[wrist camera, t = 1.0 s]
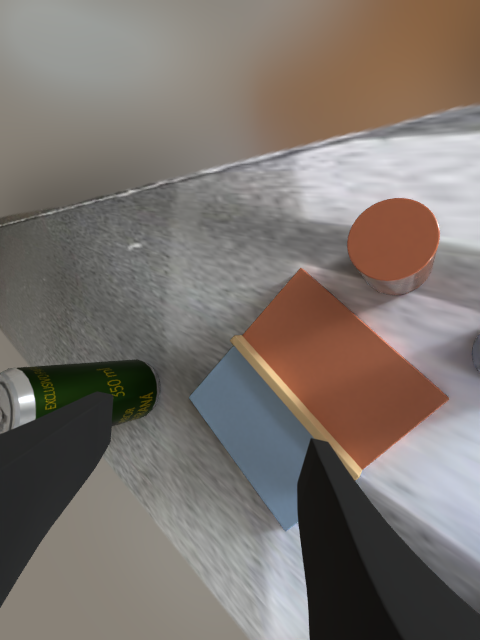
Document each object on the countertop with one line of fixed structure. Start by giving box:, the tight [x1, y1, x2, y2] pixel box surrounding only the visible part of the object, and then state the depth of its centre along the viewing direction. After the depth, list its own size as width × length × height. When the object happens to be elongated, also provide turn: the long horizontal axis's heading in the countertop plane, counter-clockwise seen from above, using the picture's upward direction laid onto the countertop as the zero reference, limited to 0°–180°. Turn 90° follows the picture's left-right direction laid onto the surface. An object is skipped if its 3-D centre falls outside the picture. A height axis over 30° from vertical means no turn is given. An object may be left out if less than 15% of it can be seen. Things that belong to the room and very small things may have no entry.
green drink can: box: [0, 360, 160, 434], centre depth 24 cm, size 5×5×12 cm
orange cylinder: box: [347, 198, 440, 295], centre depth 17 cm, size 4×4×6 cm
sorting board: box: [189, 268, 449, 531], centre depth 22 cm, size 12×14×2 cm
